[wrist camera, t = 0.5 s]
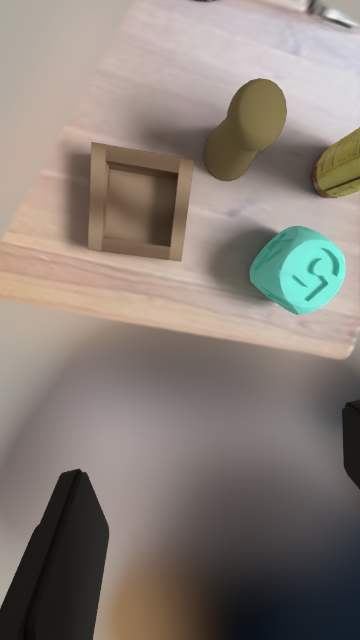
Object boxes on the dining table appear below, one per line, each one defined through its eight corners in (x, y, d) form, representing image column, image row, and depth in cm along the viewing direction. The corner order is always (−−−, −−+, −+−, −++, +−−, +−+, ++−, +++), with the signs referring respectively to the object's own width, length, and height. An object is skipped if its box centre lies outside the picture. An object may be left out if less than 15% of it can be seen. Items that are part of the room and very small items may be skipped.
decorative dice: (240, 275, 36) (263, 282, 28) (278, 227, 35) (313, 221, 27) (280, 307, 38) (312, 322, 30) (317, 263, 37) (360, 267, 29)
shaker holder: (99, 154, 30) (91, 141, 27) (189, 170, 32) (194, 160, 28) (95, 249, 33) (87, 249, 30) (178, 260, 35) (181, 261, 31)
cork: (193, 150, 31) (213, 100, 21) (231, 114, 31) (271, 43, 20) (224, 191, 33) (256, 164, 22) (260, 157, 32) (311, 113, 22)
